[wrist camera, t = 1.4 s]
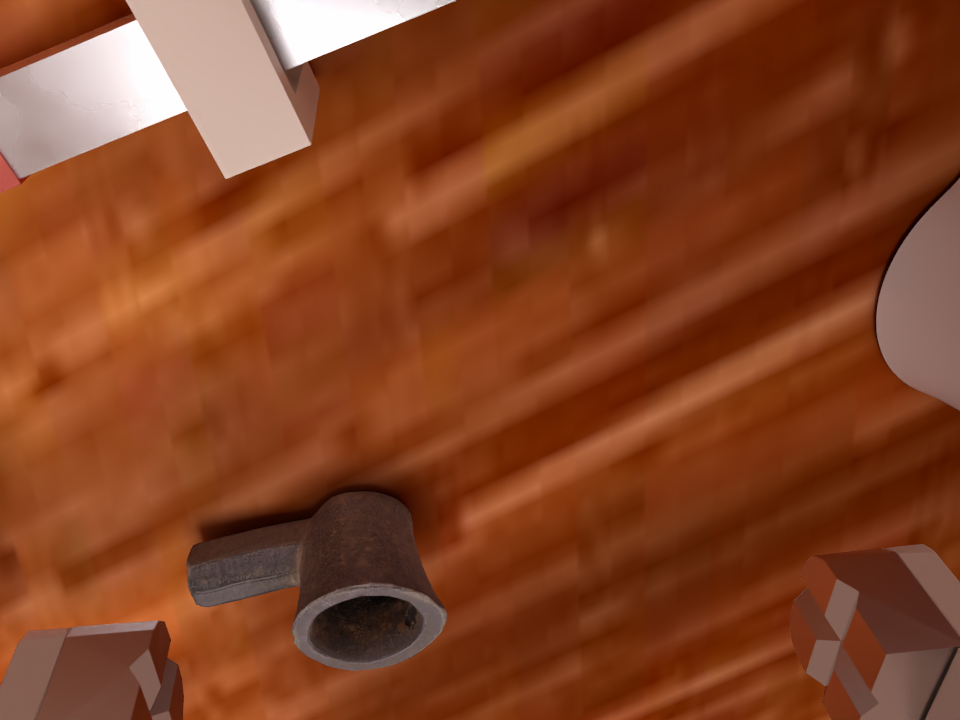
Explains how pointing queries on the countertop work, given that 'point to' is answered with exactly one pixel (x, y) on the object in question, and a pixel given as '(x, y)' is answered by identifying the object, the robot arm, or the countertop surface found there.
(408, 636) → the pipe
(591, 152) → the countertop surface
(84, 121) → the steel rail
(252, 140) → the collar
